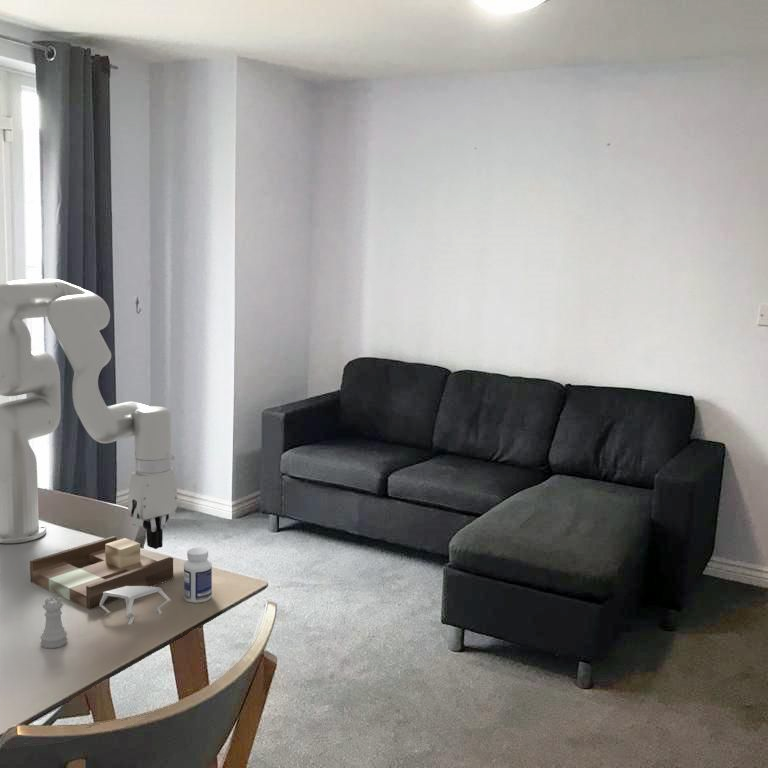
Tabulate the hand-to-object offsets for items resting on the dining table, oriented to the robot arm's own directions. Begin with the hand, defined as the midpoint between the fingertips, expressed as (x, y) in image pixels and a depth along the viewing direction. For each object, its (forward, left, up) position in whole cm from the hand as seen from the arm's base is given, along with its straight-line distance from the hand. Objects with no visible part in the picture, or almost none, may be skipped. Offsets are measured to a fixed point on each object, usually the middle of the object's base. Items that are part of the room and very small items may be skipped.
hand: (154, 546), depth 187 cm
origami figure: (+18, -19, -4) cm, 26 cm away
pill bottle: (+21, -6, -4) cm, 22 cm away
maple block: (0, -8, -1) cm, 8 cm away
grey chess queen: (+17, -35, -4) cm, 39 cm away
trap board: (0, -13, -4) cm, 14 cm away
